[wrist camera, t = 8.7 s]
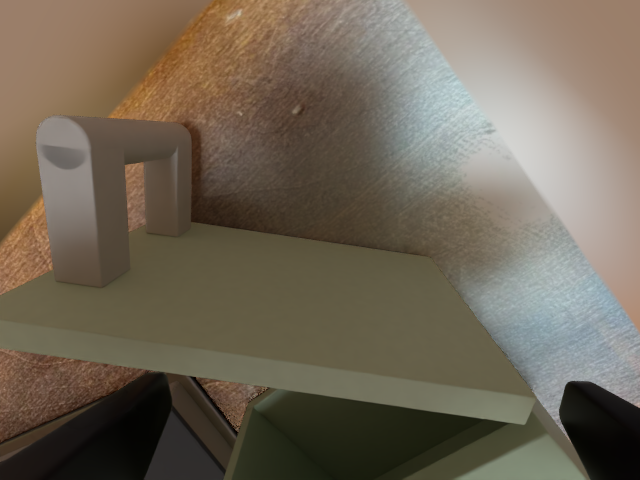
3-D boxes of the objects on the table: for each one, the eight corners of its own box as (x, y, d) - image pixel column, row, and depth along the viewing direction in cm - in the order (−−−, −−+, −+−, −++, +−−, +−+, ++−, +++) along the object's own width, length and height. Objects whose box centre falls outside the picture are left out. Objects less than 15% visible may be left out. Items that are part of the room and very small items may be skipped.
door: (157, 118, 17) (-93, 99, 7) (455, 162, 17) (625, 205, 7) (160, 233, 19) (-31, 344, 9) (426, 272, 19) (525, 426, 9)
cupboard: (247, 402, 23) (177, 619, 13) (435, 273, 19) (549, 433, 9) (347, 491, 25) (355, 733, 15) (531, 391, 21) (708, 624, 11)
